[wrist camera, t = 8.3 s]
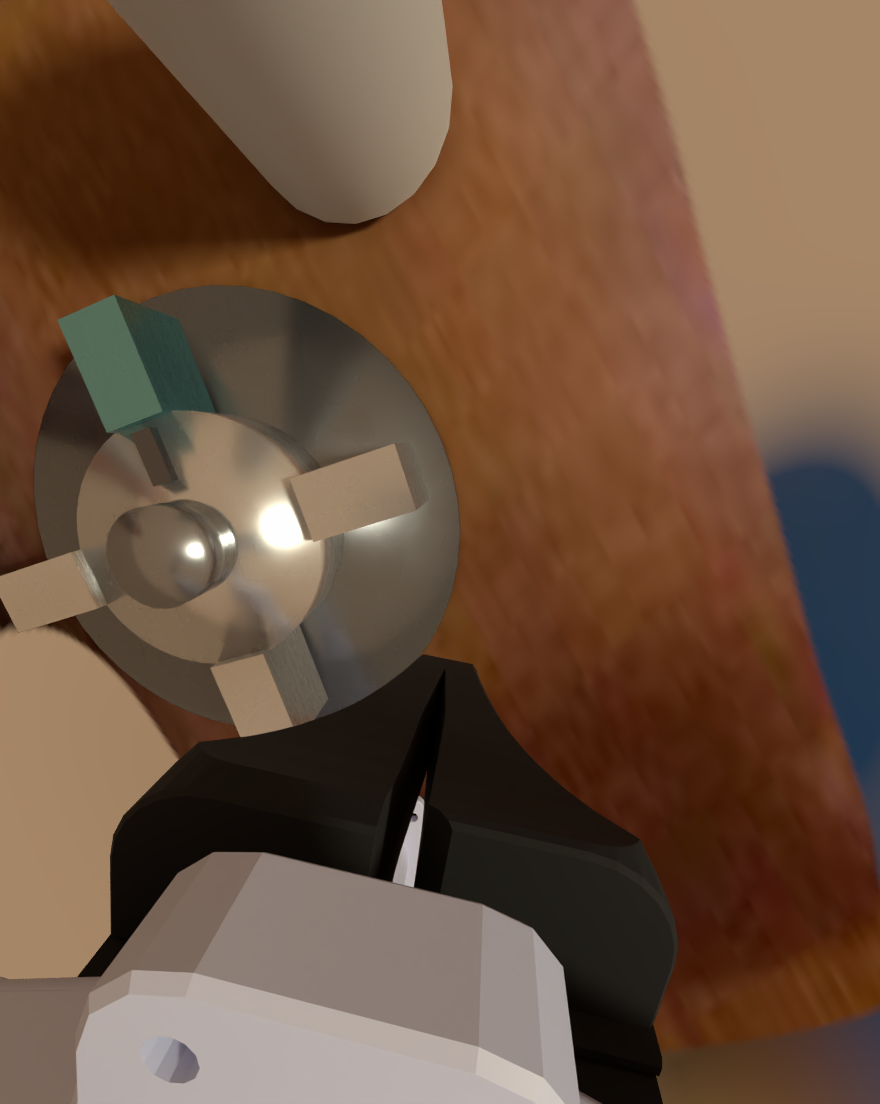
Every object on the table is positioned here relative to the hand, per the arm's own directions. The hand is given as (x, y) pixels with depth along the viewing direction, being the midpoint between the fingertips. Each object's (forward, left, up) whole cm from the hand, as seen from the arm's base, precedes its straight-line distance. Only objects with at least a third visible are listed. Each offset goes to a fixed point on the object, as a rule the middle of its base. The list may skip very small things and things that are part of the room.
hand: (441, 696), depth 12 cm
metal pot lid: (+1, +10, -10) cm, 14 cm away
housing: (+1, +10, -10) cm, 14 cm away
